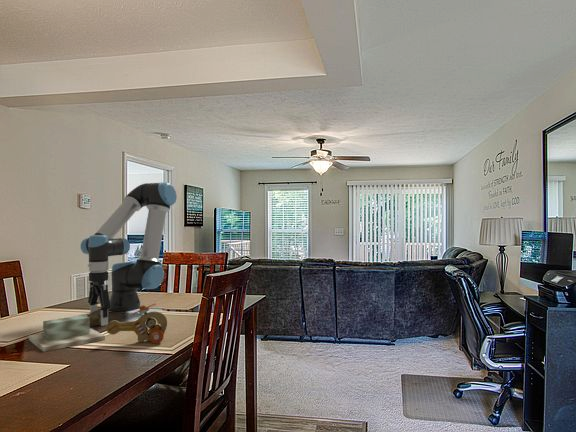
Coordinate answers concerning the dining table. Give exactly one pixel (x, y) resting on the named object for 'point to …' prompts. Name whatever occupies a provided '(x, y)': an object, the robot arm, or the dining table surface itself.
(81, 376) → the dining table surface
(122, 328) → the toy helicopter
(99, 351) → the dining table surface
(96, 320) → the stone block
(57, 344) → the tower base
